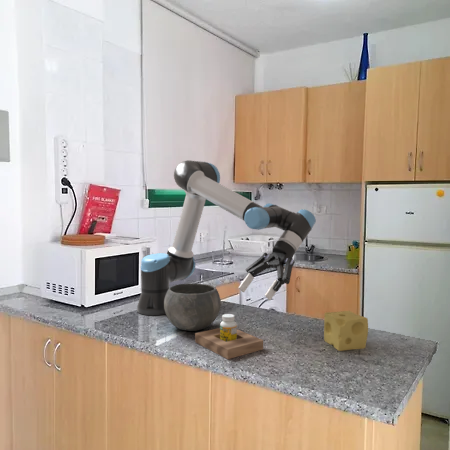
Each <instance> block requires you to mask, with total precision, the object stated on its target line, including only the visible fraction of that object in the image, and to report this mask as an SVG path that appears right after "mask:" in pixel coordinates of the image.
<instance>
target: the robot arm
mask: <svg viewBox="0 0 450 450" xmlns="http://www.w3.org/2000/svg"><path fill="white" fill-rule="evenodd" d="M220 173H221V172H220V171H219V169H218V168H217V166H216V165H215V164H213V163H211V162H206V161H201V160H200V161H195V160H183V161H182V162H179V163H178V164H177V166H176V167H175V169H174V171H173V179H174V182H175V183H176V185H177V186H178V187H179V188H180V189H182V190H183V191H184V193H185V197H184V202H183V205H182V209H181V212H180V215H179V221H178V224H177V228H176V231H175V235H174V238H173V243H172V245H171V246H169V247H168V248H167V251H166V253H163V252H162V253H160V252H159V253H152V254H151V253H150V254H148V255H145V256H144V257H142V259H141V262H140V283H141V286H140V287H141V288H140V291H141V293H140V295H139V299H138V303H137V306H136V310H137V313H138V314H140V315H146V316H160V315H166V312H165V309H164V299H165V295H166V293H167V291H168V289H169V288H170V284H171V283H174V282H177V281H184V280H186V279H188V278H190V277H191V276H192V275H193V274H194V273H195V270H196V262H195V258H194V255H195V254H194V252H193V251H192V250H193V246H194V243H195V239H196V235H197V232H198V228H199V225H200V221H201V217H202V215H203V210H204V207H205V204H206V200H207V201H209V202H210V203H212V204H214V205H216V206H217V207H219V208H220V209H223V210H225V211H226V212H228V213H230V214H231V215H233V216H235V217H236V218H239V219H240V220H242V221H243V222H244V223H245V225H246V226H247V227H248V228H249V229H252V230H256V231H258V230H263V229H271V228H277V229H279V230H281V231H283V232H282V234H281V235H280V237H279V238H278V240H277V241H276V242H275V244H274V245H273V246H272V252H271V253H270V254H268V253H267V252H263V254H262V255H261V256H260V257H259V258H258V259H256V260H255V261H254V262H253V263H252V264H250V265H249V266H247V267H246V268H245V272H246V273H247V274H246V275H245V276H244V277H243V280H242V282H241V283H240V285H239V286H238V289H239V290H240V292H242V293H245V292H246V290H247V289H248V288H249V286H250V285H251V283H252V282H253V281H254V279H255V276H257V275H258V274H260V273H262V272H265V270H267V269H276V273H277V278H276V279H274V281H273V282H272V283H271V285H270V286H269V288H268V290H266V292H265V294H264V297H265V298H267V300H268V301H271V300H272V299H273V297H274V296H275V294H276V293H277V292H278V291H280V289H281V287H282V286H283V285H284V284H286V285H289V284H290V281H291V276H292V271H293V267H294V264H295V263H296V262H295V260H294V259H293V257H294V256H295V255H296V252H297V251H298V250H299V248H300V247H301V245H302V243H303V242H304V241H305V239H307V238H306V237H308V235H309V233H310V232H311V231H312V230H313V229H312V228H313V227H314V226H315V224H316V220H317V219H316V216H315V215H314V213H312V212H311V211H310V210H307V209H302V208H301V209H299V210H298V211H297V212H294V211H291V210H288V209H286V208H283V207H281V206H278V205H277V204H273V203H266V204H264V206H262V205H260V204H258V203H256V202H254V201H252V200H250V199H249V198H247V197H245V196H243V195H241V194H240V193H238V192H236V191H234V190H232V189H231V188H228V187H227V186H224V185H223V184H222V183H221V184H220V182H221V174H220Z"/></svg>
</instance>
